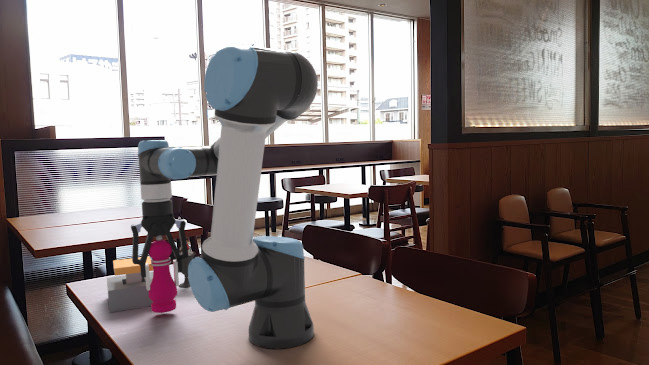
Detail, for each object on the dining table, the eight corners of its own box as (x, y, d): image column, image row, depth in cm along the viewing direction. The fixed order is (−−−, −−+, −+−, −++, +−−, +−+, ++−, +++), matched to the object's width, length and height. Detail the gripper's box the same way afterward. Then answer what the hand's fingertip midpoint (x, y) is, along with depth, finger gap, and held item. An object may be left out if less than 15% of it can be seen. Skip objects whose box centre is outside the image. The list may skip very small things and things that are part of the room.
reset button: (154, 287, 143) (152, 263, 142) (116, 293, 139) (114, 268, 138) (150, 279, 152) (149, 256, 151) (114, 283, 148) (113, 260, 147)
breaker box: (163, 303, 142) (162, 283, 142) (109, 312, 137) (108, 290, 136) (157, 290, 155) (156, 271, 154) (108, 297, 149) (106, 277, 149)
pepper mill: (169, 314, 129) (164, 237, 127) (144, 313, 131) (138, 237, 129) (183, 304, 136) (178, 231, 134) (158, 304, 138) (153, 231, 136)
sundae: (194, 288, 156) (192, 240, 155) (173, 288, 156) (170, 241, 155) (200, 281, 163) (197, 236, 161) (179, 282, 163) (177, 236, 162)
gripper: (192, 195, 138) (197, 278, 140) (115, 201, 130) (122, 289, 132) (197, 198, 131) (202, 284, 133) (117, 204, 123) (123, 296, 125)
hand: (162, 286), depth 133 cm, fingers closed on pepper mill, 6 cm apart
